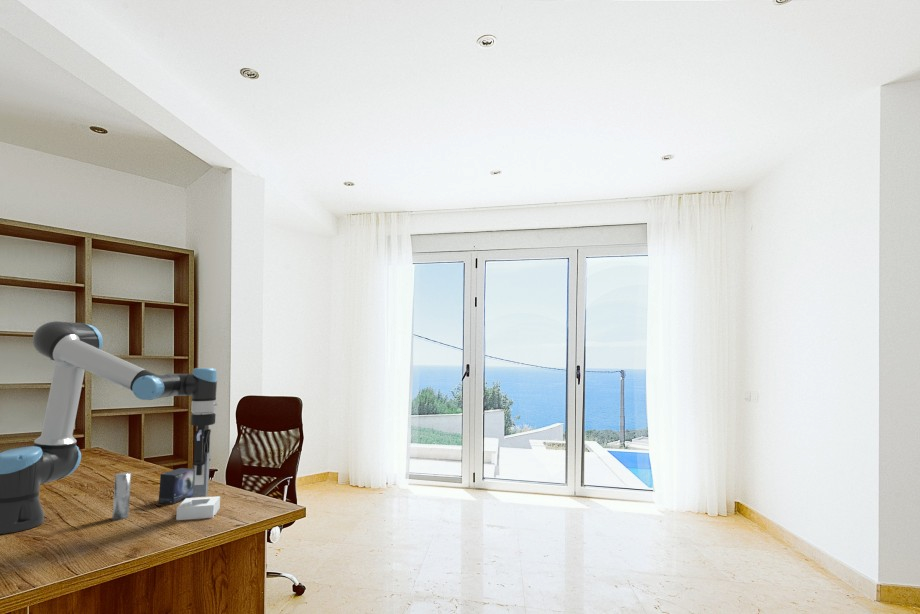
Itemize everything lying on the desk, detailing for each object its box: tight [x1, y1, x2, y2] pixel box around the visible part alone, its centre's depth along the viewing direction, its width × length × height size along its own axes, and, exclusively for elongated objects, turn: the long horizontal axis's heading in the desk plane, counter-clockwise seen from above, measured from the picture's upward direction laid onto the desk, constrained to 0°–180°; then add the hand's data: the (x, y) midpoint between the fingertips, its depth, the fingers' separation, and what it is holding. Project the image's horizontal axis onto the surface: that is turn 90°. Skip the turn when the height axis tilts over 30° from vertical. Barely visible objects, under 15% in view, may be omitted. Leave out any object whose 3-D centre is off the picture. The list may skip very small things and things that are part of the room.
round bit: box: [112, 472, 132, 521], centre depth 170 cm, size 4×4×14 cm
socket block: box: [175, 495, 221, 521], centre depth 174 cm, size 11×11×4 cm
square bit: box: [192, 451, 211, 498], centre depth 175 cm, size 4×4×14 cm
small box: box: [157, 467, 194, 505], centre depth 190 cm, size 11×6×10 cm, turn 168°
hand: (200, 482), depth 175 cm, fingers closed on square bit, 4 cm apart
